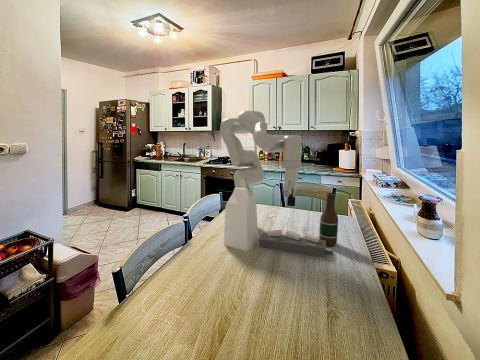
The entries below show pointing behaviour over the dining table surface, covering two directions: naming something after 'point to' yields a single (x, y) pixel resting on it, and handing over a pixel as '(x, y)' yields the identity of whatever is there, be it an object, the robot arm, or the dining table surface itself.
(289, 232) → the rocker mid
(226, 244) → the milk
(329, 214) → the beer bottle
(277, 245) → the power strip
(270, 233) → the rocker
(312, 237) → the rocker
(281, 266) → the dining table surface
